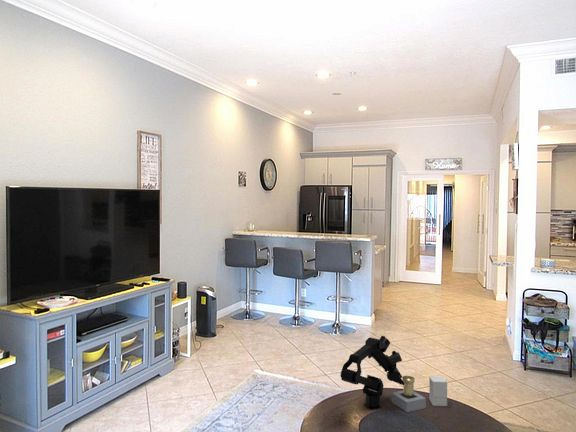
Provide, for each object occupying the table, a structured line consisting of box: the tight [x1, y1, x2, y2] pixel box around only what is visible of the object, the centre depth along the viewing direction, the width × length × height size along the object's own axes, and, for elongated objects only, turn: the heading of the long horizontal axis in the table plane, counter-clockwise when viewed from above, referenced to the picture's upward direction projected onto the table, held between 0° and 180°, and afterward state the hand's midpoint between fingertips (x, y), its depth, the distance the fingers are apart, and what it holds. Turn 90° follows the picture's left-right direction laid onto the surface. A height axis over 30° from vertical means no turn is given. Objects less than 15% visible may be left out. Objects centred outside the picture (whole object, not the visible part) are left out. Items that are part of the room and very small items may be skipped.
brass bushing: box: [401, 375, 416, 399], centre depth 210 cm, size 6×6×13 cm
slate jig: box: [391, 390, 427, 413], centre depth 210 cm, size 12×12×5 cm
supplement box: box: [428, 375, 448, 407], centre depth 212 cm, size 7×7×13 cm
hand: (402, 380), depth 210 cm, fingers open, 9 cm apart
